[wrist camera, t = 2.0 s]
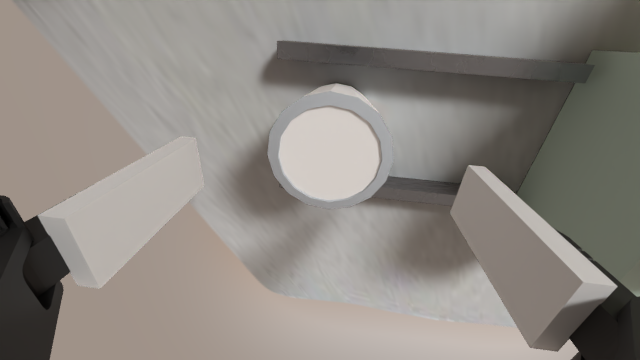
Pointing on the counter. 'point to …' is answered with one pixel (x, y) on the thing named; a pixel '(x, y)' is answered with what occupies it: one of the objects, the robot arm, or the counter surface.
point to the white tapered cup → (331, 148)
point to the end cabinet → (595, 167)
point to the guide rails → (440, 63)
